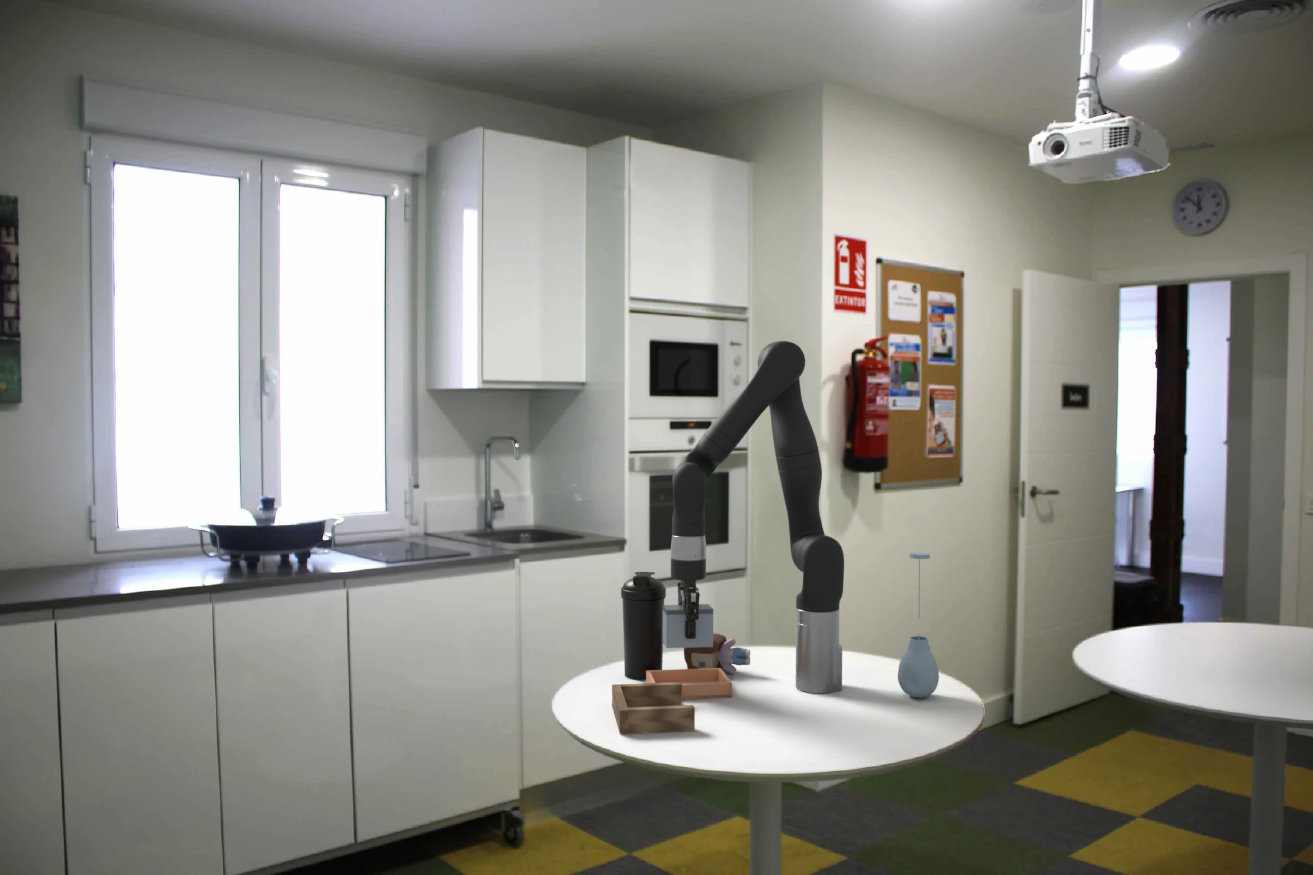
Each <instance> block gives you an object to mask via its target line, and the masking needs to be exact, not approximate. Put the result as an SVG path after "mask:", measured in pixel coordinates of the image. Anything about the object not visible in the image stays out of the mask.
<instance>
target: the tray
mask: <svg viewBox="0 0 1313 875" xmlns="http://www.w3.org/2000/svg"><path fill="white" fill-rule="evenodd" d="M671 682H681V684H682V700H695V699H696V700H698V699H699V700H700V699H701V700H702V699H724V698H728V699H729V698H733V682H732V681H731V680H730V678H729V677H728V676H727V675H726V673H725V672H724V669H721V668H706V669H687V668H685V669H684V668H683V669H682V668H681V669H679V668H678V669H662V670H647V671H646V680H645V683H671Z"/></svg>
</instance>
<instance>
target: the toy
mask: <svg viewBox="0 0 1313 875" xmlns="http://www.w3.org/2000/svg"><path fill="white" fill-rule="evenodd" d="M736 644H737V642H736V639H735V637H732V638H729V639H728V640H727V637H726V636H725V635H723V634H720V633H716V632H715V633H713V647H690V648H683V658H684V661H685V663H686V669H706V668H721V669H722V670H725V671H726V672H727V673H728V674H730V675H735V674H736V672H737V668H736V667H735V666H749V665H750V664H751V650H750V649H748V648H744V647H733V646H734V645H736ZM734 665H735V666H734Z"/></svg>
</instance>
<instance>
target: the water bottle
mask: <svg viewBox="0 0 1313 875" xmlns="http://www.w3.org/2000/svg"><path fill="white" fill-rule="evenodd" d="M634 574H635V575H633V577H632V578H629V579H627V580H626V581H625V582H624V583H623V586H622V587H621V588H620V596H621V599H622V624H623V625H622V626H623V654H624V657H623V658H624V659H623V663H624V676H625V678H627V679H629V680H636V681H646V671H647V670H663V660H664V659H663V657H664V643H663V605H665V599H666V595H667V588H666V587H665V585H664V583H663V582H662V581H661V580H659V579H657V578H656V577H652V576H653V575H655V572H654V571H635V572H634Z"/></svg>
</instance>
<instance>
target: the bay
mask: <svg viewBox="0 0 1313 875" xmlns="http://www.w3.org/2000/svg"><path fill="white" fill-rule="evenodd" d="M682 700H683V699H682V684H681V682H671V683H646V682H643V683H625V684H624V683H622V684H611V708H612V710H613V714H614V719H615V722H616V725H617V729H618V732H619V734H620V735H630V734H634V735H635V734H654V733H678V732H679V733H680V732H695V728H696V727H695V726H696V724H695V722H696V719H695V718H696V717H695V716H696V714H695V713H696V711H695V708H696V707H695V705H694V704H689V705H688V704H687V705H686V704H685V705H684V704H683V702H682Z"/></svg>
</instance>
